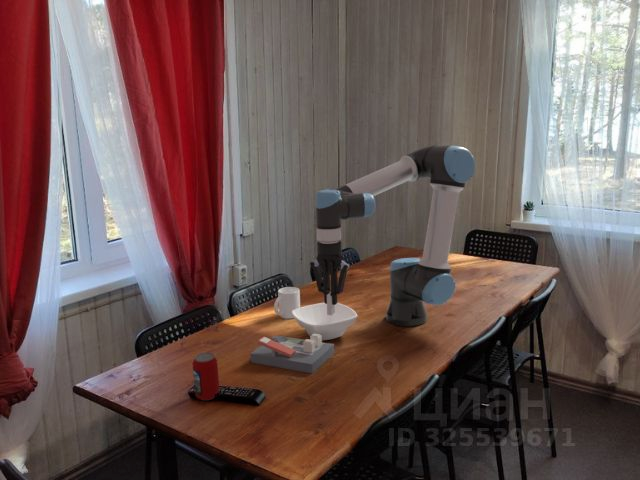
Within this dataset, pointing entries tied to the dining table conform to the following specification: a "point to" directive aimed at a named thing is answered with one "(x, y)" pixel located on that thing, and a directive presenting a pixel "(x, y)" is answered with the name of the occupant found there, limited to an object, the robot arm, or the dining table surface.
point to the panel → (298, 360)
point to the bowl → (324, 319)
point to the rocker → (276, 346)
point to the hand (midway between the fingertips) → (331, 313)
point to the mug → (287, 302)
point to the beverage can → (205, 376)
